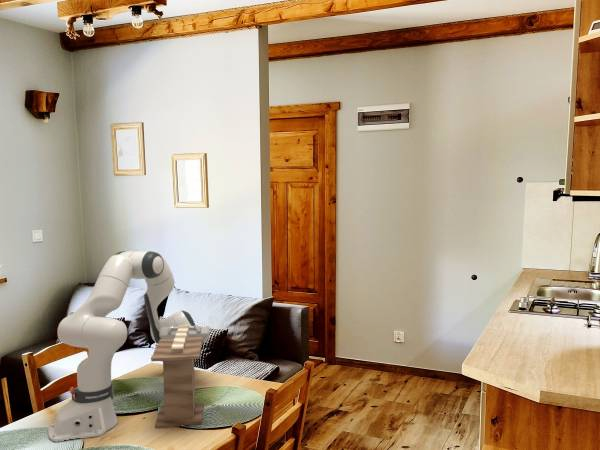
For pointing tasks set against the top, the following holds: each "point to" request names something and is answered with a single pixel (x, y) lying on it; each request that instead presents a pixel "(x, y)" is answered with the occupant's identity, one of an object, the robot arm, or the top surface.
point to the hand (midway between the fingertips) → (183, 327)
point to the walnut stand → (179, 384)
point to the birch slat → (180, 339)
